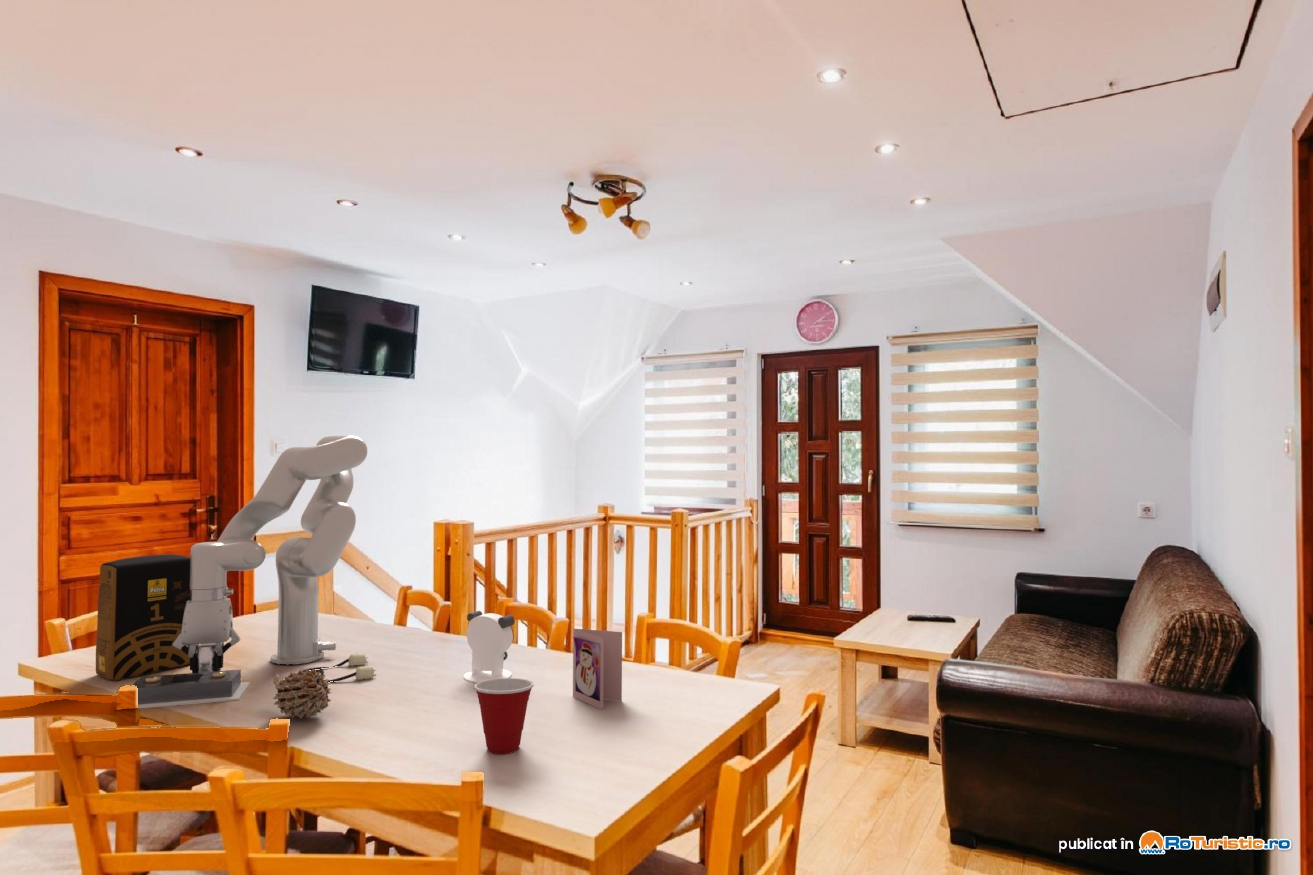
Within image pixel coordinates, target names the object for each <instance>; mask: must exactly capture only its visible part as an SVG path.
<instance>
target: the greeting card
mask: <svg viewBox="0 0 1313 875" xmlns="http://www.w3.org/2000/svg"><path fill="white" fill-rule="evenodd" d="M572 630H573V632H572V633H573V636H572V638H573V639H572V640H573V642H572V644H573V647H572V648H573V649H572V652H573V653H572V697H573V698H575V699H578V700H581V701H582V702H585V703H586V704H589V705H591V706H594V707H595V706H596V708H597V709H601V710H603V711H604V700H606V701H608V700H609V701H610V700H611V701H617V702H622V700H623V698H622V697H623V696H622V694H623V688H622V687H623V686H622V685H623V632H622V631H615V630H614V631H613V630H599V629H587V628H586V629H585V628H573V629H572Z"/></svg>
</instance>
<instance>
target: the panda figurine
mask: <svg viewBox="0 0 1313 875" xmlns="http://www.w3.org/2000/svg"><path fill="white" fill-rule="evenodd" d="M466 619H467V621H469V623H468V626H467V631H466V640H467V641H466V642H467V643H468V646H469V647H470V649H471V651H472V652H471V655H472V656H471V659H472V660H471V670H470V671H467V672H466V673H464V675H463V679H464V680H465V681H466V682H469V683H472V684H473V683H475V684H476V683H478V682H481V681H485V680H491V679H501V678H512V675H513V673H512V671H510V670H508V669H505V668H504V661H506V660H507V659H508V656H509V655H508V650H509V649H510V647H511V646H512V644H513V641H514V639H515V638H514V630H513V627H512V626H514V624H515V618H514V616H513V615H512V614H508V615H505V616H504V615H501V614H497V613H492V612H491V613H490V612H489V613H484V614H483V612H482V611H481V610H477V611H474V612H469V613H468V614H467V615H466Z"/></svg>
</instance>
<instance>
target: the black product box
mask: <svg viewBox="0 0 1313 875" xmlns="http://www.w3.org/2000/svg"><path fill="white" fill-rule="evenodd" d="M98 586H99V587H98V595H97V625H96V626H97V627H96V640H95V641H96V642H95V673H96V675H97V676H99V677H100V678H101V677H102V678H104V679H107V680H110V681H113V682H115V681H121V680H125V679H126V680H127V679H131V678H136V677H142V676H145V675H151V674H155V672H156V673H160V672H163V671H168V670H173V669H177V668H181V667H185V666H190V658H189V657H188V655H187V654H185V653H184V652H183V651H182V650H181V649H178V648H176V647H174V646H173V643H174V641H175V640H176V639H177V637H178V636H179V635H180V633H181V631H182V622H183V615H184V610H185V605H186V602H187V601H189V597H190V556H186V555H181V554H174V553H173V554H170V553H167V554H153V555H152V554H151V555H144V556H143V555H141V556H135V557H127V558H121V559H116V560H113V561H108V562H103V563H102V564H101V565H100V567H99V585H98ZM186 645H187V644H186ZM189 646H190V645H189Z"/></svg>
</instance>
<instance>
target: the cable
mask: <svg viewBox="0 0 1313 875" xmlns="http://www.w3.org/2000/svg"><path fill="white" fill-rule="evenodd" d="M368 658H369V657H368V656H366V654H365V653H352V654H350V655H349V657H348V658H347V659H345V660H343V661H341V662H339V663H337V664H335V665H333V666H332V667H335V666H340V667H342V666H343V665H345V664H347V663H348V665H349V667H355V666H354V665H361V666H357V667H356V669H355V672H352V673H350V674H347V675H344V676H341V677H337V678H334V679H328V680H329V681H328V682H330V681H333V682H334V681H338V682H341V681H344V680H347V679H349V678H353V677H355V679H356V680H357V681H364V680H363V679H365V680H371V679H370V678H372V679H373V678H374V677H375V678H376V677H377V674H376V673H375V672H376V671H377V669H374V666H373V665H371V666H370V665H367V666H364V665H365V664H368V663H369V660H368ZM363 664H364V665H363ZM329 667H330V666H318V667H317V666H316V667H309V668H306V669H303V670H302V671H303V672H305V671H306V670H312V669H321V668H329ZM316 672H320V675H321V676H323V675H324V674H325V671H324V670H316ZM334 683H335V682H334Z"/></svg>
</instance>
